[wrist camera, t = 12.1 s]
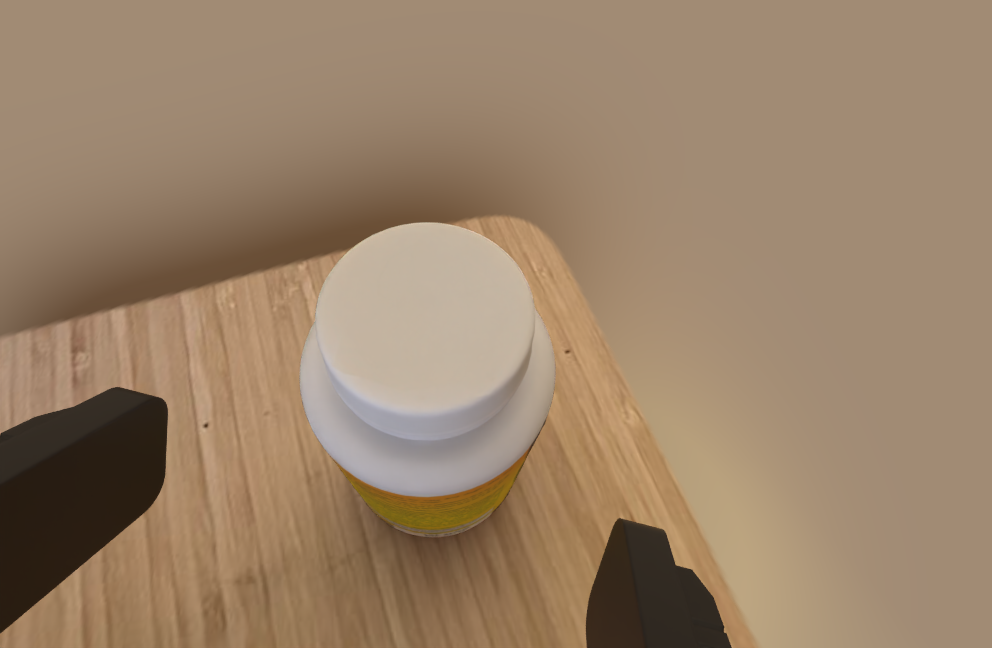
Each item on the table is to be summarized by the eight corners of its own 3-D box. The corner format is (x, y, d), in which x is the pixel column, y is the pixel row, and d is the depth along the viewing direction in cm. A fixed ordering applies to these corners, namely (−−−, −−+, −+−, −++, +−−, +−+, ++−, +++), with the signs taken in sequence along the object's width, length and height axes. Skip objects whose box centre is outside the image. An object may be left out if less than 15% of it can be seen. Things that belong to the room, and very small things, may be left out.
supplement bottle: (528, 529, 18) (611, 449, 9) (354, 549, 17) (248, 485, 8) (506, 371, 20) (554, 182, 11) (354, 383, 20) (274, 192, 11)
